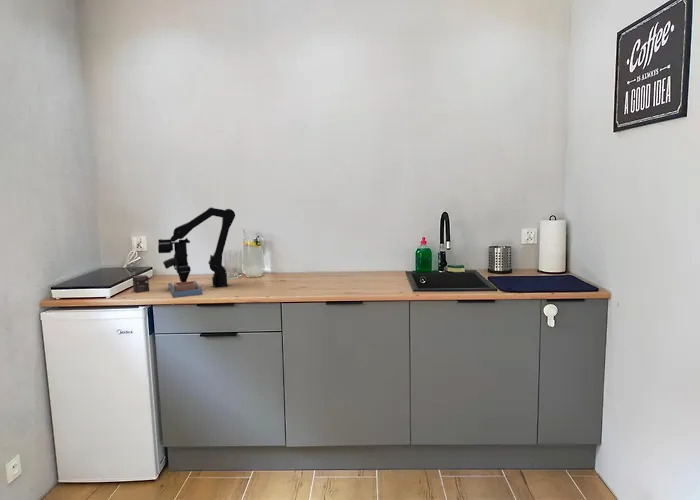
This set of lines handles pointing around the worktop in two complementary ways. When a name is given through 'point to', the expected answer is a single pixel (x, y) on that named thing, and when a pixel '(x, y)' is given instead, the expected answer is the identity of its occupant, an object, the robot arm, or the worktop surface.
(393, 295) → the worktop surface
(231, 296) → the worktop surface
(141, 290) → the box
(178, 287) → the crate
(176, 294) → the crate bay
